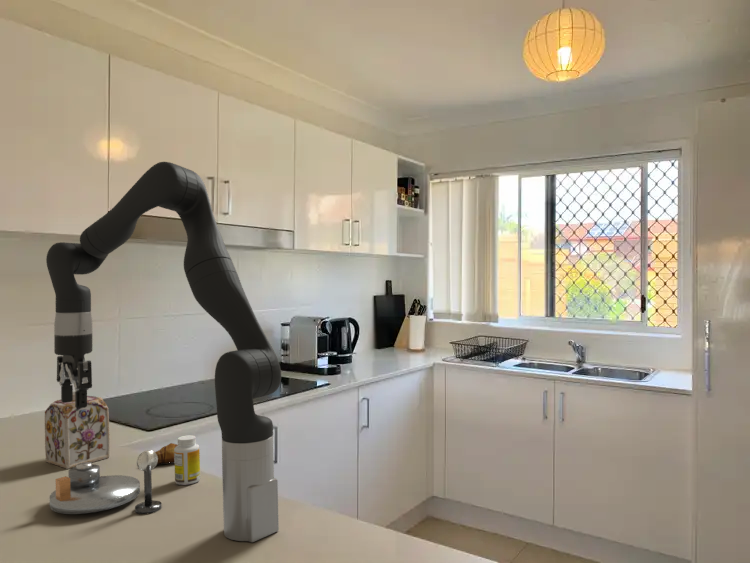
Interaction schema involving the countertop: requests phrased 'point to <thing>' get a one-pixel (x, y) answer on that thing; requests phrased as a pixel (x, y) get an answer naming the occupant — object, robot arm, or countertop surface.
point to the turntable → (94, 495)
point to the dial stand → (147, 482)
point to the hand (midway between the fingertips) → (73, 404)
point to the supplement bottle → (187, 460)
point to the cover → (84, 475)
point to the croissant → (166, 454)
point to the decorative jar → (77, 432)
